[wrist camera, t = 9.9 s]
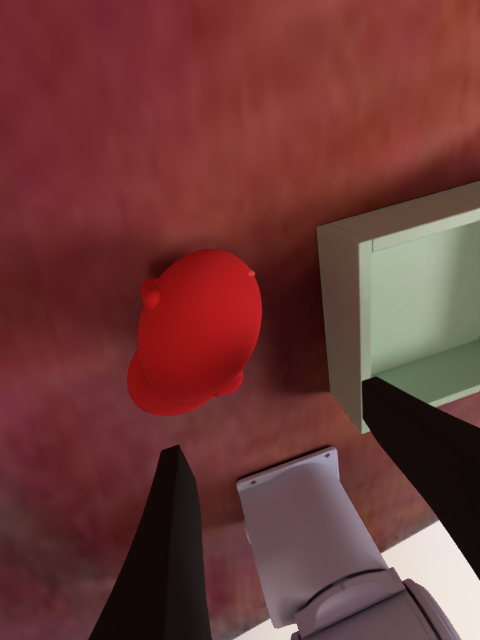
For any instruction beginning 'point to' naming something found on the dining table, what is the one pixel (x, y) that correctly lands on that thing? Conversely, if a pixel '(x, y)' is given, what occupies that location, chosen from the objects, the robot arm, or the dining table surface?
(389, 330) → the bin
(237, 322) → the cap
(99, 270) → the dining table surface
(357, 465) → the dining table surface
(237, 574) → the dining table surface
